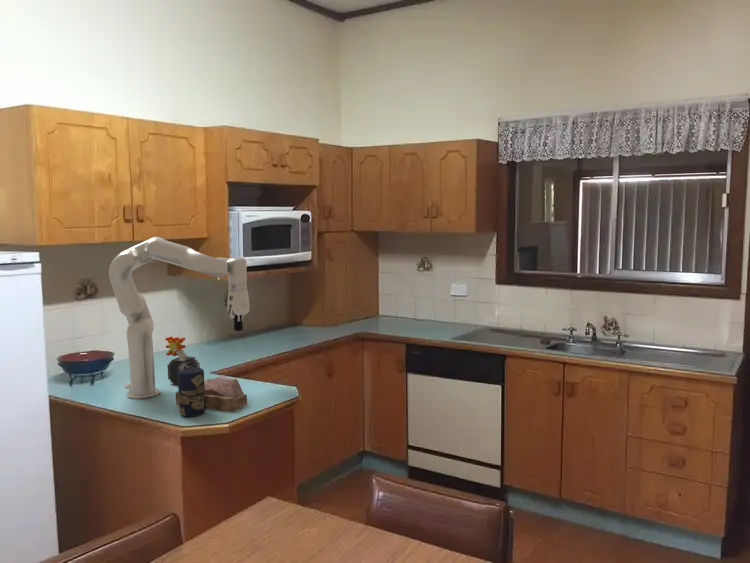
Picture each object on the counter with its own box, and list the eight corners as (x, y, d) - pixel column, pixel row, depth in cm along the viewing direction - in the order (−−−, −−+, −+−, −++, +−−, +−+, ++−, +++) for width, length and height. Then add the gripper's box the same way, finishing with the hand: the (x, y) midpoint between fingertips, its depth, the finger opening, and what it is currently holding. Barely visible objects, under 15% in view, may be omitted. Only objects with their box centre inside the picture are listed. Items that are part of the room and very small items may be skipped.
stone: (217, 374, 271) (192, 383, 261) (251, 380, 259) (226, 390, 249) (220, 393, 272) (195, 403, 262) (254, 400, 260) (229, 411, 250)
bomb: (189, 386, 282) (186, 341, 280) (164, 383, 288) (162, 338, 285) (200, 382, 290) (198, 337, 287) (176, 379, 295) (174, 335, 292)
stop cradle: (176, 405, 257) (175, 392, 256) (192, 397, 266) (191, 385, 266) (232, 412, 247) (231, 399, 247) (247, 404, 257) (246, 392, 256)
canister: (188, 420, 239) (186, 371, 237) (174, 414, 246) (172, 367, 243) (211, 413, 246) (209, 366, 244) (196, 408, 253) (194, 362, 250)
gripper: (234, 289, 268) (235, 334, 270) (255, 285, 281) (255, 328, 283) (219, 288, 271) (220, 332, 273) (240, 284, 284) (241, 326, 286)
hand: (238, 330), depth 278 cm, fingers closed
